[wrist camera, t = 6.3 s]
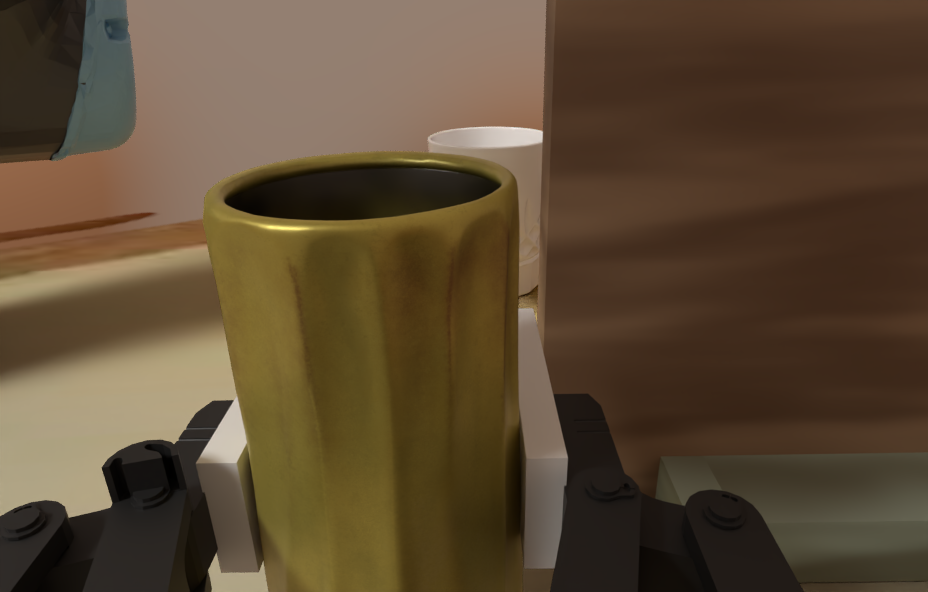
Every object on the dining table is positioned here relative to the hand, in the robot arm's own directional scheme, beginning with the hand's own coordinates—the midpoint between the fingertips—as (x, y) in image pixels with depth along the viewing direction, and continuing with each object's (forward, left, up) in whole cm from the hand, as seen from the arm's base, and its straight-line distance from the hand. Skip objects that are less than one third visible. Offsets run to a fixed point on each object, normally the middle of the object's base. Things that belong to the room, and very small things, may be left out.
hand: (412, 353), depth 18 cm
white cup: (-22, +11, -8) cm, 26 cm away
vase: (+5, -2, -8) cm, 10 cm away
